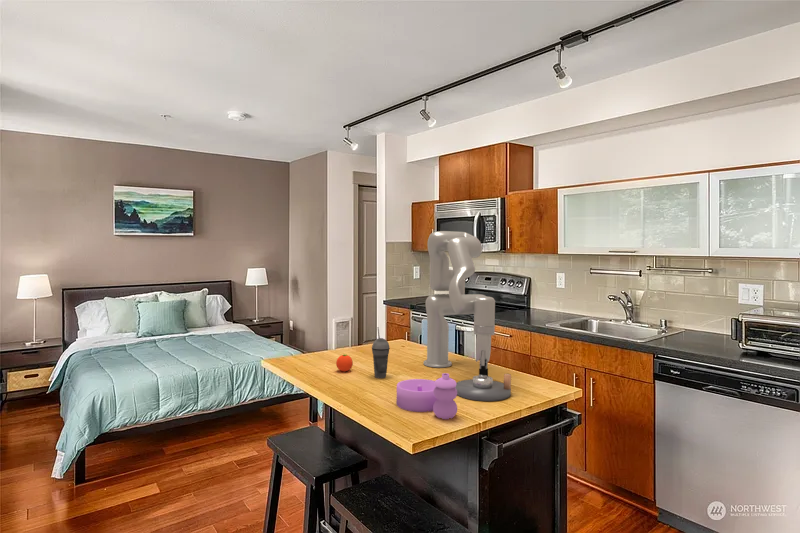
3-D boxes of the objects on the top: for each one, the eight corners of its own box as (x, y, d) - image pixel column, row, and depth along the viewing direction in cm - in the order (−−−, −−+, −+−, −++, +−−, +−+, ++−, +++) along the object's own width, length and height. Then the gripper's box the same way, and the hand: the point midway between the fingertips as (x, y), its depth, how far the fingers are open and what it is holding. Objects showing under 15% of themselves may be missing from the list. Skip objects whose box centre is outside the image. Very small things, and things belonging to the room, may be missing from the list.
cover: (473, 383, 175) (473, 372, 175) (492, 384, 174) (492, 373, 174) (472, 388, 168) (472, 377, 168) (492, 389, 167) (492, 378, 167)
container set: (387, 401, 160) (388, 362, 159) (424, 394, 168) (425, 357, 168) (432, 425, 139) (432, 380, 138) (471, 415, 147) (472, 373, 147)
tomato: (337, 368, 204) (338, 352, 203) (354, 368, 203) (354, 352, 203) (334, 373, 196) (334, 356, 195) (351, 373, 195) (351, 356, 195)
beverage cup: (387, 379, 186) (387, 329, 186) (369, 378, 188) (369, 328, 187) (391, 375, 194) (391, 326, 193) (373, 374, 195) (374, 325, 194)
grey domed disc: (457, 382, 183) (457, 364, 182) (510, 386, 178) (510, 368, 178) (450, 398, 163) (451, 378, 163) (510, 403, 159) (511, 382, 158)
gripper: (475, 326, 184) (474, 373, 185) (472, 332, 169) (471, 383, 170) (495, 327, 182) (494, 374, 183) (493, 333, 168) (493, 385, 168)
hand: (483, 379), depth 176 cm, fingers closed
